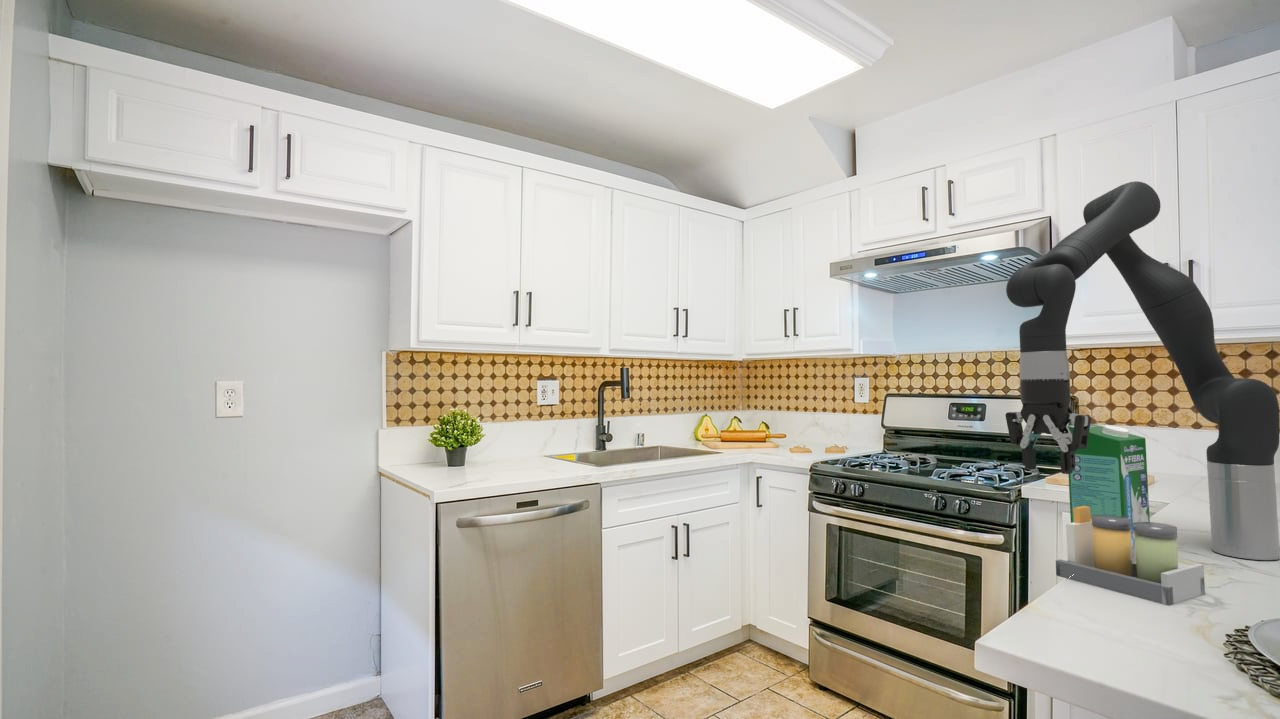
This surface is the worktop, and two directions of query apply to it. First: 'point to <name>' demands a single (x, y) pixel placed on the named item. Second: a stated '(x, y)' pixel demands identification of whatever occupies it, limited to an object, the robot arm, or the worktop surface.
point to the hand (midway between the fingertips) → (1048, 470)
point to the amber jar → (1112, 543)
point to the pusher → (1080, 537)
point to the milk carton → (1111, 476)
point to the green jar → (1155, 549)
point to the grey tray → (1140, 582)
